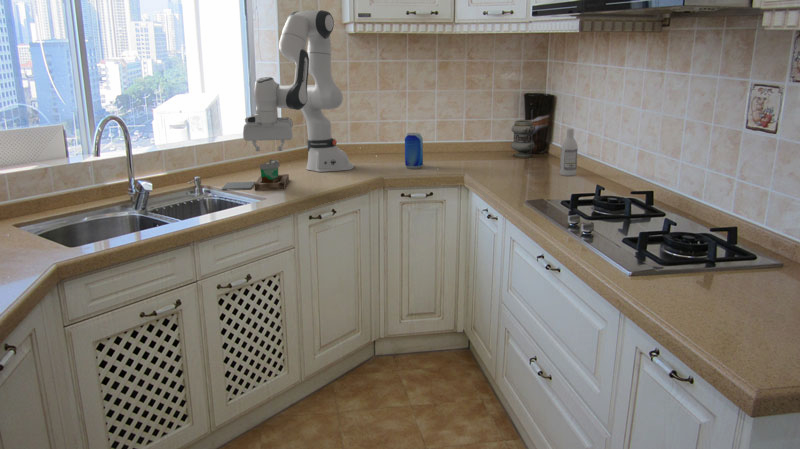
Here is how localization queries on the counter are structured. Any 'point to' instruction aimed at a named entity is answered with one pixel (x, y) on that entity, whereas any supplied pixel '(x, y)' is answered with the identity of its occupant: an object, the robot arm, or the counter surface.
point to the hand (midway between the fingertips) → (269, 150)
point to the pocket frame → (272, 186)
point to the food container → (270, 171)
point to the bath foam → (568, 155)
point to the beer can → (413, 150)
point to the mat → (238, 185)
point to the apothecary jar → (523, 138)
